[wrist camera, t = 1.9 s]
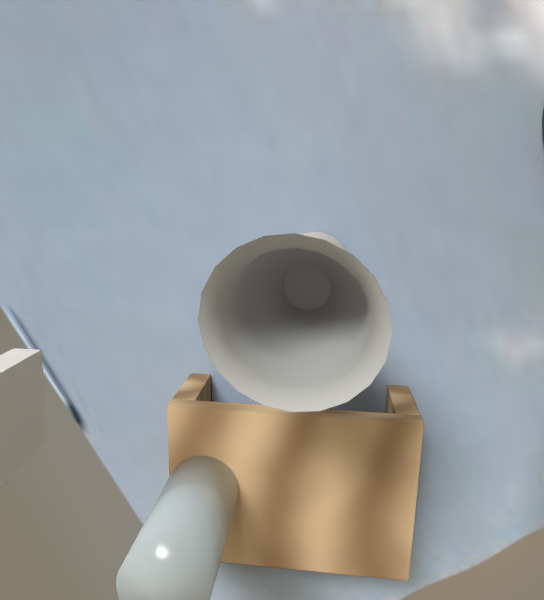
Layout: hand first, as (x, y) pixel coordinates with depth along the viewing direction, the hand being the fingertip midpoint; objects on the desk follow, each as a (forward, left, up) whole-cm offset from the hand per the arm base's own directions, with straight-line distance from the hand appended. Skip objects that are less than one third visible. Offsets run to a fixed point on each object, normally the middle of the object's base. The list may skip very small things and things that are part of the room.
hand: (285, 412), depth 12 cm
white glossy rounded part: (+7, +15, -18) cm, 24 cm away
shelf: (+1, +15, -24) cm, 28 cm away
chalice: (0, 0, -24) cm, 24 cm away
